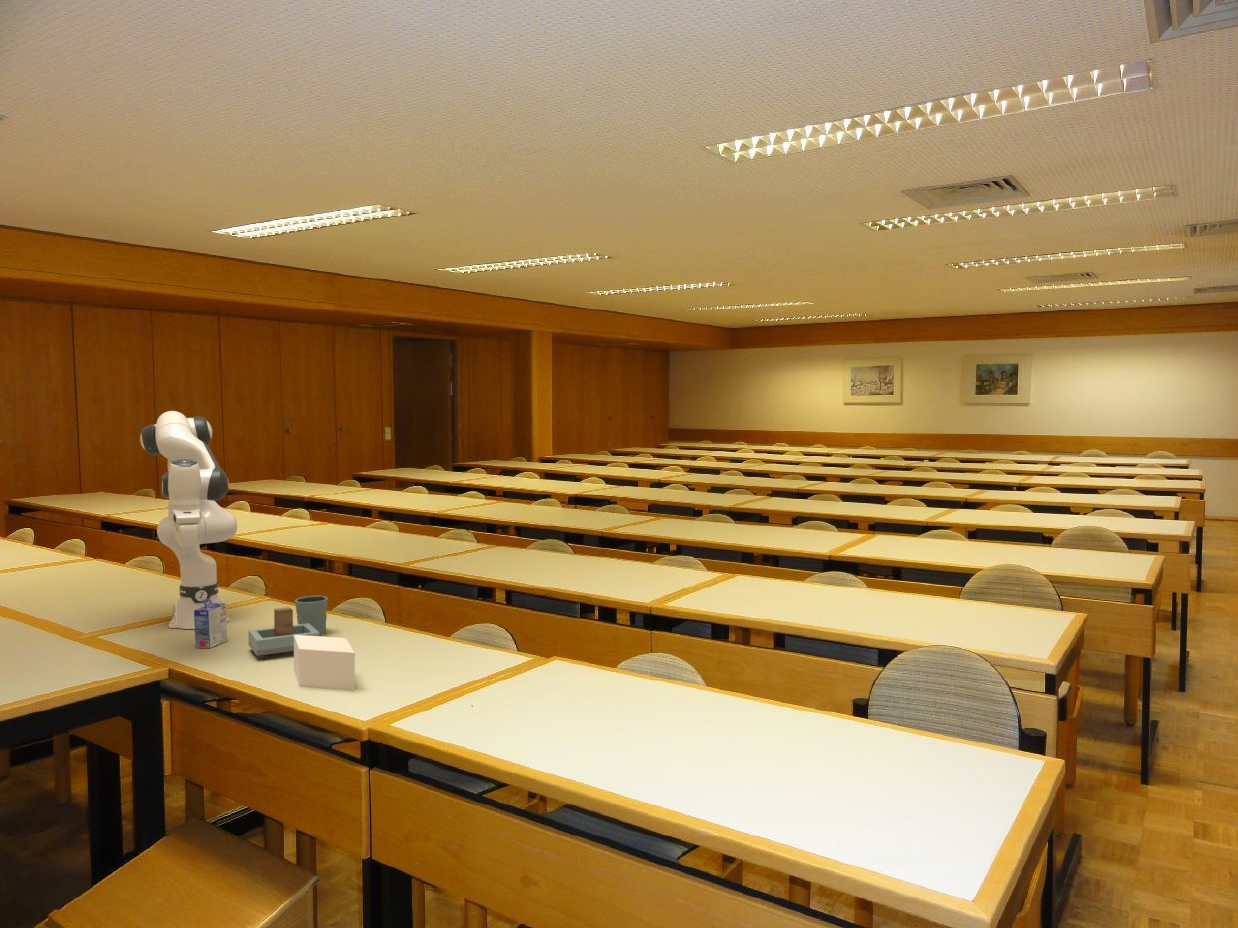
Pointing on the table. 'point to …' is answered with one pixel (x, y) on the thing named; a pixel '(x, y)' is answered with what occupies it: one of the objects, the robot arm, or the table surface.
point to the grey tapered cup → (312, 612)
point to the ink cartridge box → (210, 624)
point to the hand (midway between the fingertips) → (185, 560)
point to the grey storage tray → (277, 639)
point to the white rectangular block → (324, 662)
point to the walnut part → (283, 621)
